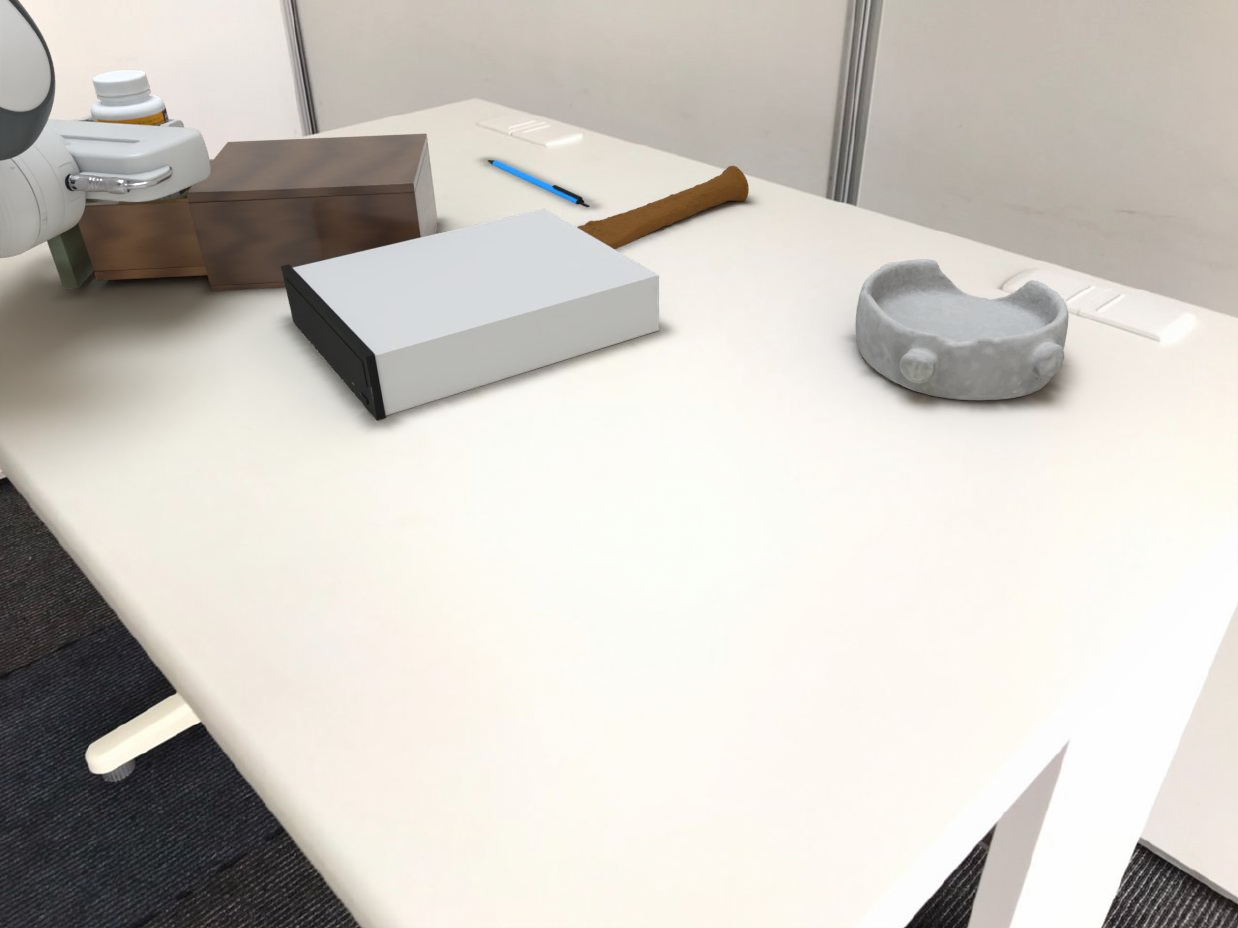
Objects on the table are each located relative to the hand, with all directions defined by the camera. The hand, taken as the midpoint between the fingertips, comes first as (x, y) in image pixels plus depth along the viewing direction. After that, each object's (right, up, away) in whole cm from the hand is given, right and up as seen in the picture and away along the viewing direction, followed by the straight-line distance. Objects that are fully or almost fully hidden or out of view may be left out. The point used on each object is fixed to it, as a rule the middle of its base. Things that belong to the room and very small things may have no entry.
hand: (140, 127), depth 83 cm
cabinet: (+14, -9, +7) cm, 18 cm away
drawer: (-1, -10, +5) cm, 11 cm away
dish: (+63, -21, -11) cm, 67 cm away
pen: (+31, +1, +22) cm, 38 cm away
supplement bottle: (0, -6, +3) cm, 6 cm away
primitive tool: (+43, -5, +12) cm, 45 cm away
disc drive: (+28, -18, -6) cm, 34 cm away
